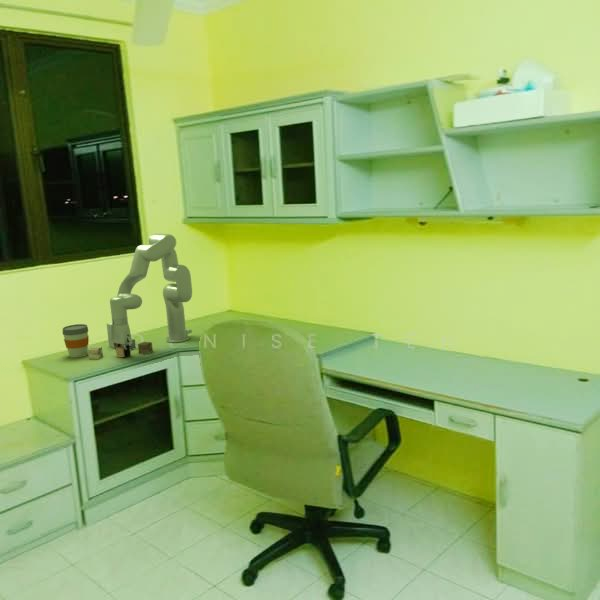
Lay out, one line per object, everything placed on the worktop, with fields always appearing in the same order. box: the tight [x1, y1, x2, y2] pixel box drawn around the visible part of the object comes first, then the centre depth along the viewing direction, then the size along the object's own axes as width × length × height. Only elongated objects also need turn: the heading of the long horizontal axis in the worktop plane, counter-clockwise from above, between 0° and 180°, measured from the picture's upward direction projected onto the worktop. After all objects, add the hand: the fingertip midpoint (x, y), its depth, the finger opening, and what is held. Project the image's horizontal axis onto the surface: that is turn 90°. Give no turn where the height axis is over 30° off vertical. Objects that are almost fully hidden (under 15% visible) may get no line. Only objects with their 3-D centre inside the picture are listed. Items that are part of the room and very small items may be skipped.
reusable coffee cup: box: [62, 323, 90, 358], centre depth 310 cm, size 13×12×15 cm
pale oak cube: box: [87, 346, 104, 360], centre depth 305 cm, size 5×5×5 cm
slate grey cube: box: [122, 337, 137, 350], centre depth 318 cm, size 5×5×5 cm
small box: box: [106, 322, 122, 349], centre depth 324 cm, size 8×6×13 cm
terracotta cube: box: [115, 345, 132, 358], centre depth 305 cm, size 5×5×5 cm
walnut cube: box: [137, 341, 153, 355], centre depth 310 cm, size 5×5×5 cm
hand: (123, 355), depth 305 cm, fingers closed on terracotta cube, 5 cm apart
